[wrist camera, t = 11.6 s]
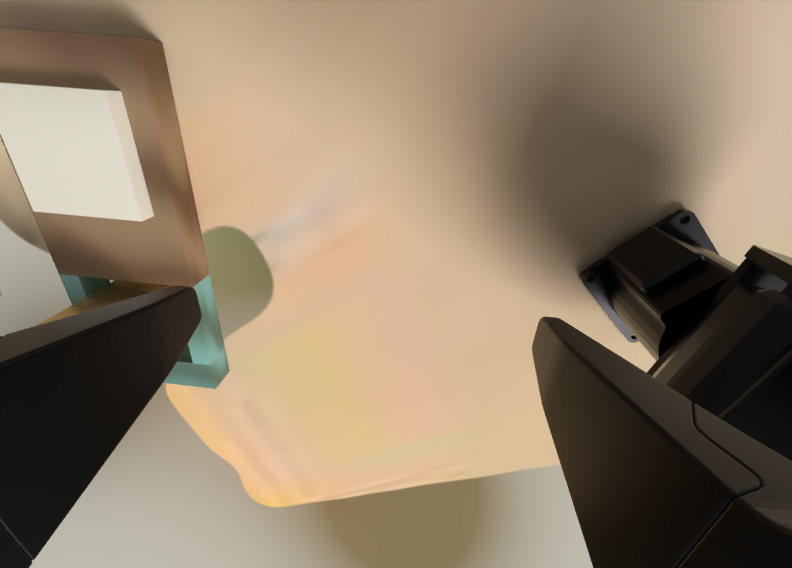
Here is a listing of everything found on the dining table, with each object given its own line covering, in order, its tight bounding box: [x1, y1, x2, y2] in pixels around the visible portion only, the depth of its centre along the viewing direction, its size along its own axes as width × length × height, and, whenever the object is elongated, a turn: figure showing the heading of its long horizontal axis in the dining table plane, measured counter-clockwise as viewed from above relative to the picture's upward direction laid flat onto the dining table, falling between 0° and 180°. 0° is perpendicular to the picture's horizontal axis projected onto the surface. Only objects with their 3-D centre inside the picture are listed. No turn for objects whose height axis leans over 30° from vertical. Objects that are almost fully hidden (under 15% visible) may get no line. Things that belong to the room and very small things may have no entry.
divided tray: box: [0, 28, 229, 389], centre depth 22 cm, size 22×9×3 cm, turn 176°
